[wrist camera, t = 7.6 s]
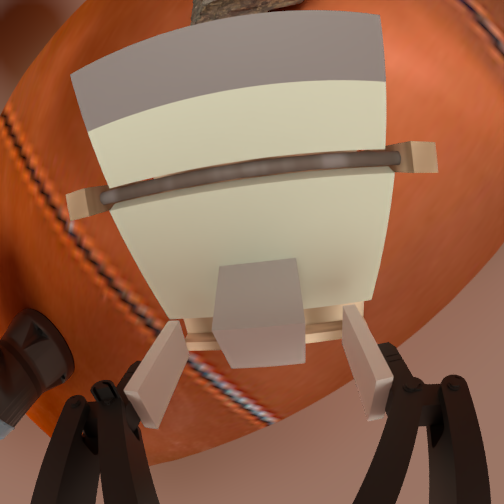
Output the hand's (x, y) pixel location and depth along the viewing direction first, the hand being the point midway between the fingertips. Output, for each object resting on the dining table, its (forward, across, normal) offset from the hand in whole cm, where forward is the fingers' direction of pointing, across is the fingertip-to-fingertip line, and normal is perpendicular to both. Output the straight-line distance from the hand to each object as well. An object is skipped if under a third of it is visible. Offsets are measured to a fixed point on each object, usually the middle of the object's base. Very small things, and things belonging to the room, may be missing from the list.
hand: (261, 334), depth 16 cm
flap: (+6, 0, +9) cm, 11 cm away
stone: (+6, 0, +1) cm, 6 cm away
